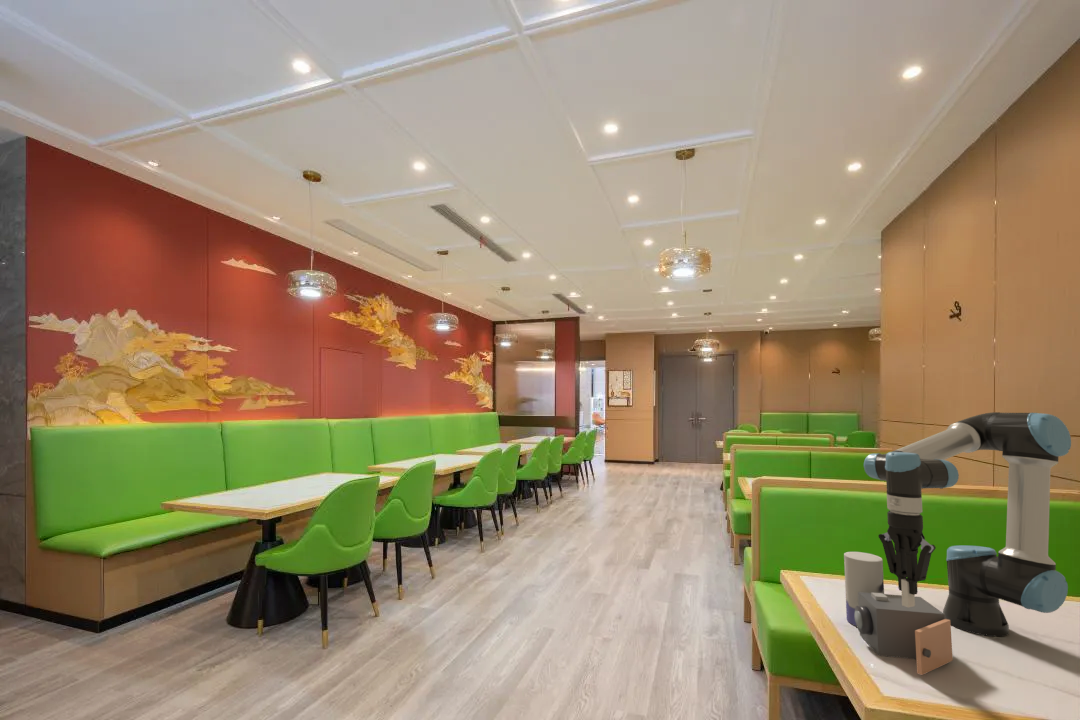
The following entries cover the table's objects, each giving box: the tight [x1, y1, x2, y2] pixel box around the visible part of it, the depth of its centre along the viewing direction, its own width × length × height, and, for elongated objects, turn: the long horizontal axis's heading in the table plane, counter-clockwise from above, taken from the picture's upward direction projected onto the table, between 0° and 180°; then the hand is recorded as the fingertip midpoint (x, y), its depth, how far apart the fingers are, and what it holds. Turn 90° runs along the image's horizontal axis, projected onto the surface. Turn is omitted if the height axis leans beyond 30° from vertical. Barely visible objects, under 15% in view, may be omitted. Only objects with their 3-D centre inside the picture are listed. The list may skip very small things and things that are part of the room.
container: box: [843, 551, 885, 627], centre depth 154 cm, size 10×10×20 cm
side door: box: [915, 619, 954, 676], centre depth 126 cm, size 15×2×10 cm, turn 118°
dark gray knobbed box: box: [855, 592, 945, 660], centre depth 139 cm, size 18×12×13 cm, turn 78°
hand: (908, 605), depth 130 cm, fingers closed
